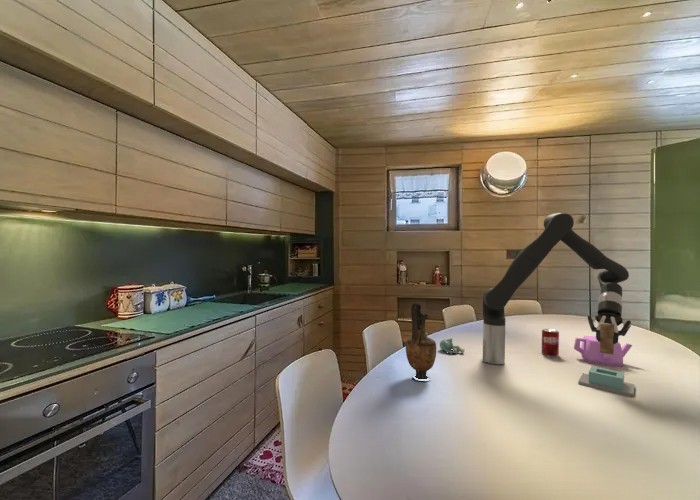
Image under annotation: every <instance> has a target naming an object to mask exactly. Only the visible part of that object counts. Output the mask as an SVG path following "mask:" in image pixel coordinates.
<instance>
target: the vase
mask: <svg viewBox="0 0 700 500" xmlns="http://www.w3.org/2000/svg"><path fill="white" fill-rule="evenodd" d="M421 308H422V305H421V302H417V301H416V302H413V303H412V304H411V307H410V312H411V313H410V317H411V337H409V338H408V339H407V340H406V342H405V354H406V358H407V363H408V364H409V366H410V367H411V368H412V369H413V370H414V371H415V374H416V376H415V377H416V378H418V379H427V378H428V377H427V376H428V375H427V373H428V371H429V370H431V369H432V368H433V366H434V364H435V362H436V356H437V343H436V341H435V340H434V339H433V338H430V337H429V336H427V333H426V332H427V331H426V320H428V319H429V315H428V314H427V313H422V312H421ZM426 375H427V376H426Z"/></svg>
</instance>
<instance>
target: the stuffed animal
mask: <svg viewBox="0 0 700 500" xmlns="http://www.w3.org/2000/svg"><path fill="white" fill-rule="evenodd" d="M439 348H440V350H441V349H442V351H443V350H444V352H445V351H446V352H445V353H447V352H448V353H457V354H458V353H459V352H460V353H465V349H464V348H461V347H460V345H457V344H456V345H454V343H453V338H451V337H450V338H449V339H446V338H444V339H442V340H441V341H440V342H439ZM451 349H453V350H454V351H452V350H451ZM456 351H457V352H456ZM448 353H447V354H448Z"/></svg>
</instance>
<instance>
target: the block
mask: <svg viewBox="0 0 700 500" xmlns="http://www.w3.org/2000/svg"><path fill="white" fill-rule="evenodd" d="M613 336H614V324H609V323H600V353H606V354H612V355H613V354H614V344H613Z"/></svg>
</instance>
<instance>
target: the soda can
mask: <svg viewBox="0 0 700 500" xmlns="http://www.w3.org/2000/svg"><path fill="white" fill-rule="evenodd" d="M559 350H560V332H559V330H557V329H552V328H543V329H542V330H541V354H542V355H543V354H544V355H543V356H546V357H551V358H553V357H554V358H556V357H558V356H559V355H560V354H559V353H560V351H559Z"/></svg>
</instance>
